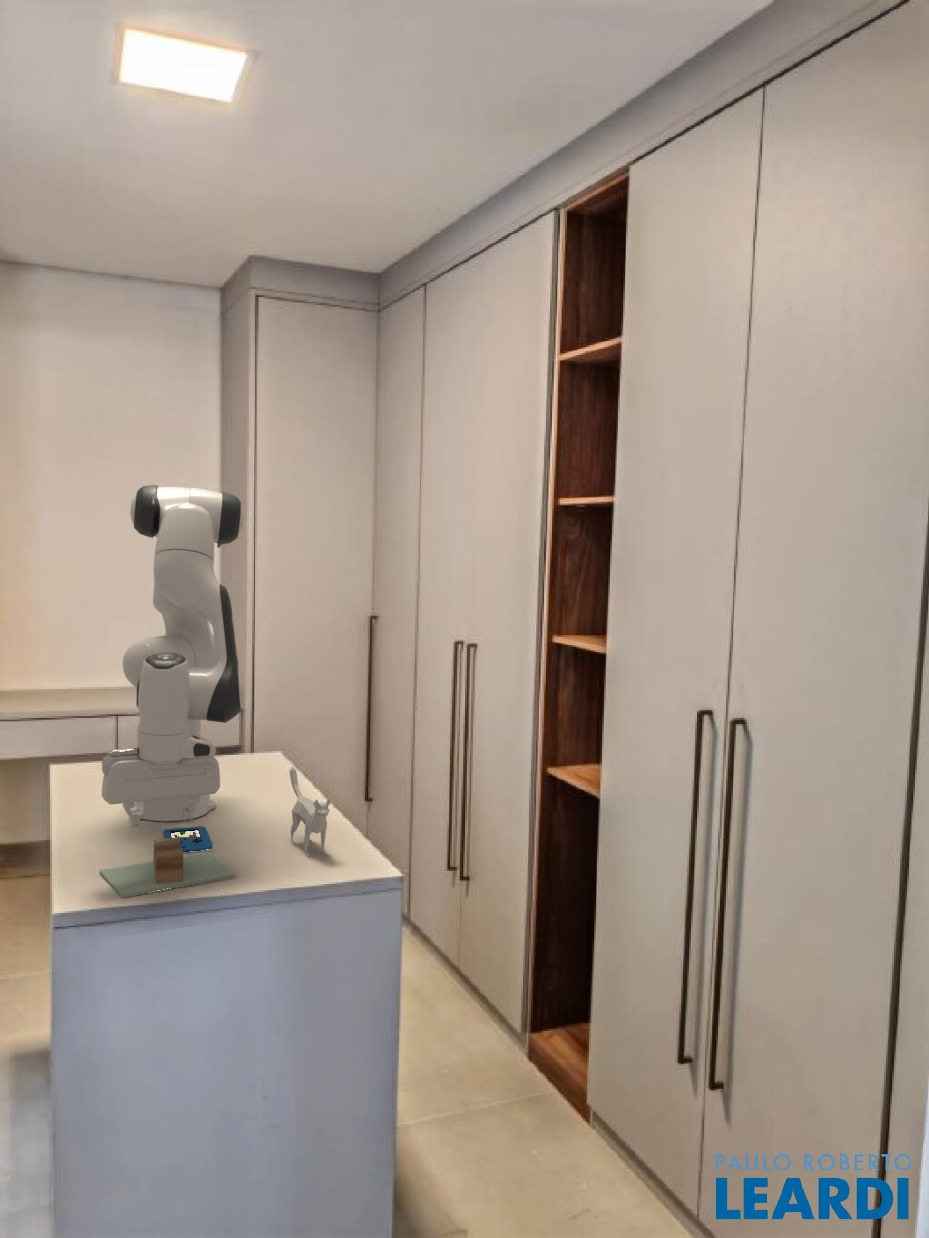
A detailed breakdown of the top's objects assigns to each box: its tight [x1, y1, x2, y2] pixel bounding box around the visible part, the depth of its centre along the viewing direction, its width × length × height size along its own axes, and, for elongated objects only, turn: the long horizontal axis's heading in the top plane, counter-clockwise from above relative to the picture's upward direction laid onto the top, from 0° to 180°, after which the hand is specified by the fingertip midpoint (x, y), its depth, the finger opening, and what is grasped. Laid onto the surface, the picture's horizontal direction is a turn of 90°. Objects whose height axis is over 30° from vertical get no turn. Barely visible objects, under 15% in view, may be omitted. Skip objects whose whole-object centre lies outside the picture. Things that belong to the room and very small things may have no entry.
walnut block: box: [153, 837, 184, 884], centre depth 180 cm, size 11×4×5 cm, turn 19°
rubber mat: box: [99, 852, 237, 898], centre depth 180 cm, size 14×20×1 cm
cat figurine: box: [289, 765, 332, 857], centre depth 198 cm, size 4×20×14 cm, turn 28°
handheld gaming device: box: [163, 825, 214, 853], centre depth 201 cm, size 8×1×15 cm
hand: (161, 822), depth 180 cm, fingers open, 8 cm apart
